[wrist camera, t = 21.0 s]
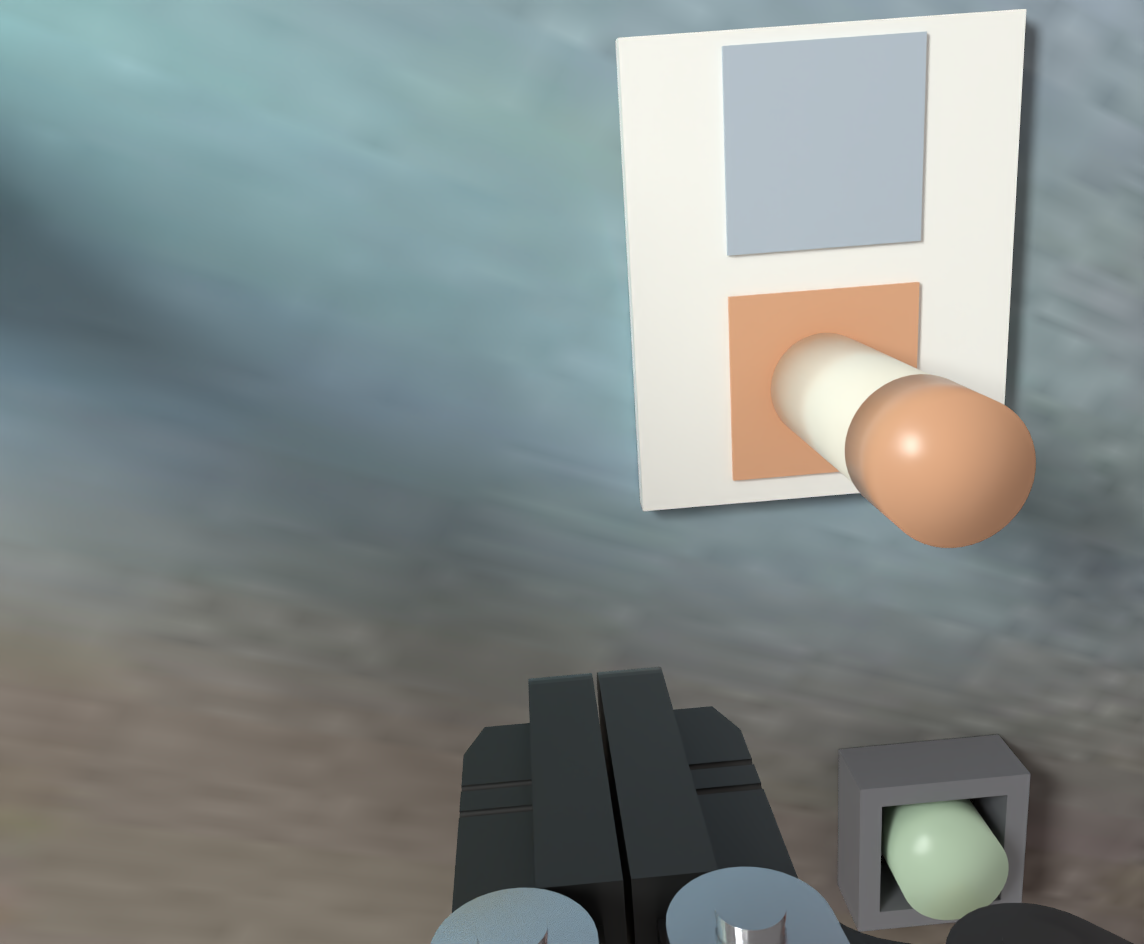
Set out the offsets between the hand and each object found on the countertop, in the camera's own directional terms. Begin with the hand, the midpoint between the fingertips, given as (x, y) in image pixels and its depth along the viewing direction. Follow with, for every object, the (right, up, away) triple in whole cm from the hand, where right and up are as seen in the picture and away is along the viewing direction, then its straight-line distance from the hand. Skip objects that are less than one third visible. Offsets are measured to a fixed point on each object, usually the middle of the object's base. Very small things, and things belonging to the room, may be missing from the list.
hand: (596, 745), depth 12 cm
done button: (+15, -12, +35) cm, 40 cm away
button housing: (+15, -12, +35) cm, 40 cm away
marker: (+9, +6, +28) cm, 30 cm away
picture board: (+9, +10, +28) cm, 31 cm away
